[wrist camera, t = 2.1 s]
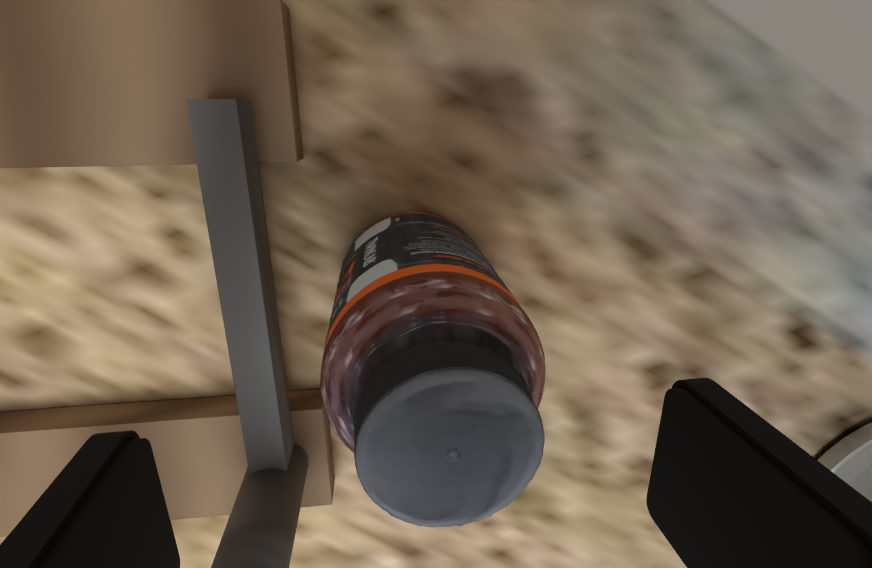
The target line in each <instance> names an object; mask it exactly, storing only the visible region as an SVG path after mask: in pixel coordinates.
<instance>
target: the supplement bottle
mask: <svg viewBox="0 0 872 568" xmlns="http://www.w3.org/2000/svg"><path fill="white" fill-rule="evenodd" d="M544 384H545V357H544V352H543V349H542V345H541V342H540V339H539V336H538V334H537V332H536V330H535V328H534V326H533V324H532V322H531V321H530V319H529V318H528V316H527V315H526V313H525V312H524V311H523V309H522V308H521V307H520V305H519V303H518V302H517V300H516V299H515V298H514V296H513V295H512V294H511V292H510V291H509V290H508V288H507V287H506V285H505V284H504V282H503V281H502V280H501V279H500V277H499V276H498V275H497V273H496V272H495V271H494V269H493V268H492V266H491V265H490V264H489V263H488V261H487V260H486V259H485V257H484V256H483V255H482V253H481V252H480V250H479V249H478V248H477V246H476V245H475V244H474V242H473V241H472V240H471V238H470V237H469V236H468V235H467V234H466V233H465V232H464V231H463V230H462V229H461V228H460V227H458V226H457V225H456V224H454V223H452V222H451V221H449V220H447V219H445V218H443V217H441V216H438V215H435V214H431V213H426V212H419V211H409V212H401V213H396V214H393V215H390V216H387V217H385V218H382V219H380V220H378V221H376V222H375V223H373V224H372V225H370V226H369V227H368V228H366V229H365V230H364V231H363V232H362V233H361V234H360V235H359V236H358V237H357V238H356V240H355V241H354V242H353V244H352V245H351V247H350V249H349V251H348V253H347V255H346V257H345V259H344V262H343V265H342V269H341V273H340V277H339V282H338V285H337V291H336V295H335V300H334V305H333V311H332V314H331V318H330V324H329V329H328V334H327V337H326V341H325V348H324V354H323V360H322V368H321V382H320V390H321V394H322V399H323V403H324V407H325V410H326V413H327V416H328V419H329V421H330V423H331V425H332V427H333V429H334V430H335V433H336V434H337V435H338V436H339V438H340V439H341V441H342V442H343V443H344V444H345V445H346V446H347V447H348V448H349V449H350V450H351V451H352V452H353V453H354V457H355V466H356V470H357V474H358V477H359V479H360V481H361V484H362V486H363V488H364V490H365V492H366V493H367V494H368V496H369V497H370V498H371V499H372V501H374V502H375V503H376V504H377V505H378V506H379V507H381V508H382V509H383V510H385V511H386V512H388V513H389V514H390V515H391V516H393V517H395V518H398V519H400V520H403V521H405V522H408V523H411V524H415V525H418V526H427V527H447V526H455V525H456V526H462V525H464V524H467V523H471V522H475V521H479V520H481V519H483V518H486V517H489V516H491V515H492V514H494V513H495V512H497V511H498V510H500V509H502V508H504V507H506V506H507V505H508V504H510V503H511V502H512V501H513V500H514V499H515V498H516V497H517V496H519V495H520V494H521V493H522V492H523V491H524V489H525V488H526V487H527V485H528V484H529V482H530V481H531V480H532V479H533V477H534V475H535V473H536V471H537V469H538V467H539V465H540V462H541V458H542V456H543V447H544V430H543V425H542V420H541V417H540V414H539V412H538V407H539V404H540V402H541V399H542V395H543V390H544Z"/></svg>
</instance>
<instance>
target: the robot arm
mask: <svg viewBox="0 0 872 568" xmlns="http://www.w3.org/2000/svg"><path fill="white" fill-rule="evenodd" d="M647 507H648V510H649V513H650V515H651V517H652V519H653V520H654V522H655V523H656V525H657V526H658V527H659V529H660V530H661V532H662V533H663V534H664V536H665V537H666V539H667V540H668V541H669V543H670V544H671V546H672V547H673V548H674V550H675V551H676V553H677V554H678V555H679V557H680V558H681V560H682V561H683V562H684V564H685V565H686V567H687V568H872V422H871V423H869V424H867V425H864V426H863V427H861V428H859V429H857V430H856V431H854V432H852V433H851V434H849V435H847V436H845V437H844V438H843V439H841V440H840V441H839V442H837V443H836V444H835V445H834V446H832V447H831V448H830V449H828V450H827V451H826V452H825V453H824V454H823V455H822V456H821V457H820V458H819V459H818V460H816V459H815V458H813V457H812V456H811V455H810V454H808V453H807V452H806V451H804V450H803V449H802V448H800V447H799V446H798V445H797V444H795V443H794V442H793V441H791V440H790V439H789V438H787V437H786V436H785V435H784V434H782V433H781V432H780V431H778V430H777V429H776V428H774V427H773V426H772V425H771V424H769V423H768V422H767V421H765V420H764V419H763V418H761V417H760V416H759V415H757V414H756V413H755V412H754V411H752V410H751V409H750V408H748V407H747V406H746V405H744V404H743V403H742V402H741V401H739V400H738V399H737V398H735V397H734V396H733V395H731V394H730V393H729V392H728V391H726V390H725V389H724V388H722V387H721V386H720V385H718V384H717V383H716V382H715V381H713V380H711V379H709V378H697V379H686V380H678V381H676V382H675V383H674V384H673V386H672V389H669V390H668V391H667V392H666V394H665V398H664V404H663V409H662V415H661V420H660V426H659V432H658V437H657V443H656V448H655V454H654V459H653V465H652V471H651V476H650V482H649V487H648V493H647ZM0 568H180V557H179V553H178V549H177V545H176V541H175V537H174V533H173V529H172V525H171V521H170V517H169V513H168V510H167V506H166V502H165V498H164V494H163V490H162V486H161V482H160V478H159V474H158V470H157V466H156V462H155V459H154V455H153V451H152V447H151V444H150V441H149V440H148V439H146V438H140V437H139V435H138V434H137V433H136V431H133V430H129V431H118V432H107V433H97V434H94V435H92V436H91V437H90V438H88V440H87V441H86V442H85V443H84V444H83V446H82V447H81V448H80V449H79V450H78V452H77V453H76V454H75V455H74V456H73V458H72V459H71V460H70V461H69V462H68V464H67V465H66V466H65V467H64V469H63V470H62V471H61V472H60V473H59V475H58V476H57V477H56V478H55V479H54V481H53V482H52V483H51V484H50V485H49V487H48V488H47V489H46V490H45V492H44V493H43V494H42V495H41V496H40V498H39V499H38V500H37V501H36V502H35V504H34V505H33V506H32V507H31V508H30V510H29V511H28V512H27V513H26V514H25V516H24V517H23V518H22V519H21V521H20V522H19V523H18V524H17V525H16V527H15V528H14V529H13V530H12V531H11V533H10V534H9V535H8V536H7V537H6V539H5V540H4V541H3V542H2V544H1V545H0Z"/></svg>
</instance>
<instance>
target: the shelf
mask: <svg viewBox="0 0 872 568" xmlns="http://www.w3.org/2000/svg"><path fill="white" fill-rule="evenodd" d="M301 159H303V150H302V140H301V130H300V119H299V109H298V99H297V89H296V78H295V68H294V58H293V48H292V37H291V27H290V17H289V9H288V8H287V6H286V5H285V4H284V2H283V1H282V0H0V168H32V167H81V166H129V165H178V164H197V166H198V172H199V178H200V184H201V190H202V196H203V202H204V208H205V214H206V220H207V226H208V232H209V238H210V244H211V250H212V255H213V261H214V267H215V273H216V279H217V285H218V291H219V297H220V303H221V309H222V315H223V321H224V327H225V333H226V338H227V344H228V350H229V356H230V362H231V368H232V374H233V380H234V386H235V392H236V395H230V396H216V397H202V398H188V399H174V400H160V401H146V402H132V403H118V404H104V405H90V406H76V407H63V408H49V409H35V410H21V411H7V412H0V537H3V536H8V535H9V534H10V533H11V531H12V530H13V529H14V528H15V527H16V525H17V524H18V523H19V522H20V521H21V519H22V518H23V517H24V516H25V514H26V513H27V512H28V511H29V510H30V508H31V507H32V506H33V505H34V504H35V502H36V501H37V500H38V499H39V498H40V496H41V495H42V494H43V493H44V492H45V490H46V489H47V488H48V487H49V485H50V484H51V483H52V482H53V481H54V479H55V478H56V477H57V476H58V475H59V473H60V472H61V471H62V470H63V469H64V467H65V466H66V465H67V464H68V462H69V461H70V460H71V459H72V458H73V456H74V455H75V454H76V453H77V452H78V450H79V449H80V448H81V447H82V446H83V444H84V443H85V442H86V441H87V440H88V438H90V437H91V436H92V435H94V434H97V433H107V432H118V431H129V430H133V431H136V433H137V434H138V435H139V437H140V438H146V439H148V440H149V441H150V444H151V447H152V451H153V455H154V459H155V462H156V466H157V470H158V474H159V478H160V482H161V486H162V490H163V494H164V498H165V502H166V506H167V510H168V513H169V517H170V520H177V519H187V518H198V517H208V516H218V515H228V514H230V517H229V520H228V523H227V525H226V528H225V531H224V534H223V536H222V539H221V542H220V545H219V547H218V550H217V553H216V556H215V558H214V561H213V564H212V567H211V568H289V564H290V559H291V554H292V548H293V543H294V538H295V533H296V527H297V522H298V517H299V512H300V507H310V506H320V505H331V504H332V499H333V490H334V481H335V478H334V467H333V457H332V447H331V437H330V427H329V419H328V416H327V413H326V410H325V407H324V403H323V399H322V394H321V390H320V389H314V390H300V391H287V383H286V375H285V367H284V360H283V352H282V344H281V336H280V328H279V321H278V313H277V305H276V297H275V289H274V281H273V274H272V266H271V258H270V250H269V242H268V234H267V227H266V219H265V211H264V203H263V195H262V188H261V180H260V172H259V164H258V163H275V162H298V161H300V160H301Z"/></svg>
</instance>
